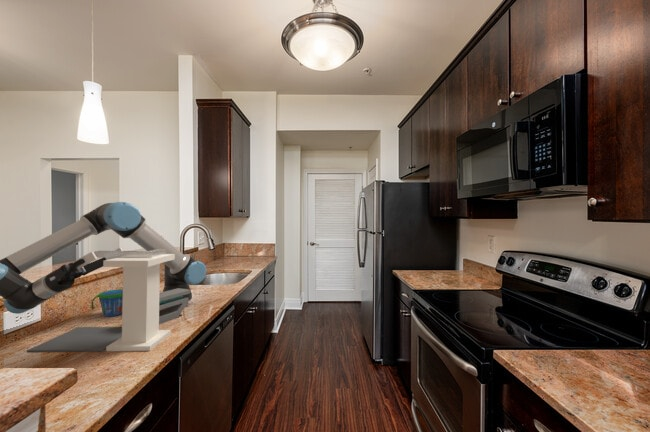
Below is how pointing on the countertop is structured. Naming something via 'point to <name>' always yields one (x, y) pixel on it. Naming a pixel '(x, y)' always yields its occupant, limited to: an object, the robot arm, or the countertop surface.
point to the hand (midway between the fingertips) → (109, 252)
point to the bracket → (130, 254)
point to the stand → (140, 303)
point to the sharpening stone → (172, 304)
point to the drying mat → (81, 340)
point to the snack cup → (110, 302)
